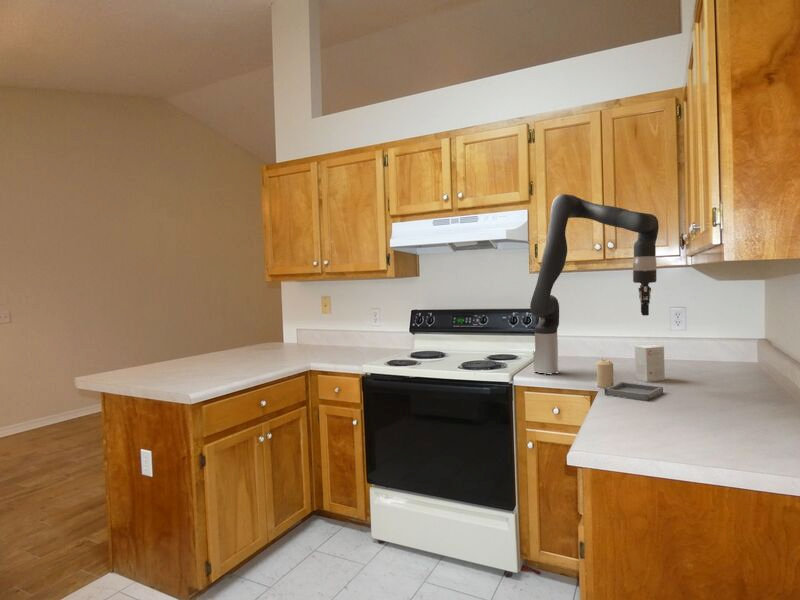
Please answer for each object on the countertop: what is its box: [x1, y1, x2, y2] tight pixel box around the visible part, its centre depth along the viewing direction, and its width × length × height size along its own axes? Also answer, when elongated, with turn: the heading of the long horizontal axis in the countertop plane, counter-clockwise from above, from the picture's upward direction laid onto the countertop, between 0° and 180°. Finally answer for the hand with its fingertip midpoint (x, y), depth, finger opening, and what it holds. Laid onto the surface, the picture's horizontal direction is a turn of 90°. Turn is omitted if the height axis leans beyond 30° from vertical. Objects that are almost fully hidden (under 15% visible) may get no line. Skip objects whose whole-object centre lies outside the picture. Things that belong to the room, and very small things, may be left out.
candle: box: [596, 358, 615, 389], centre depth 178 cm, size 6×6×10 cm
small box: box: [634, 344, 666, 383], centre depth 187 cm, size 8×6×13 cm
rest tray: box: [603, 381, 664, 402], centre depth 166 cm, size 14×14×2 cm
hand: (644, 314), depth 176 cm, fingers open, 8 cm apart
